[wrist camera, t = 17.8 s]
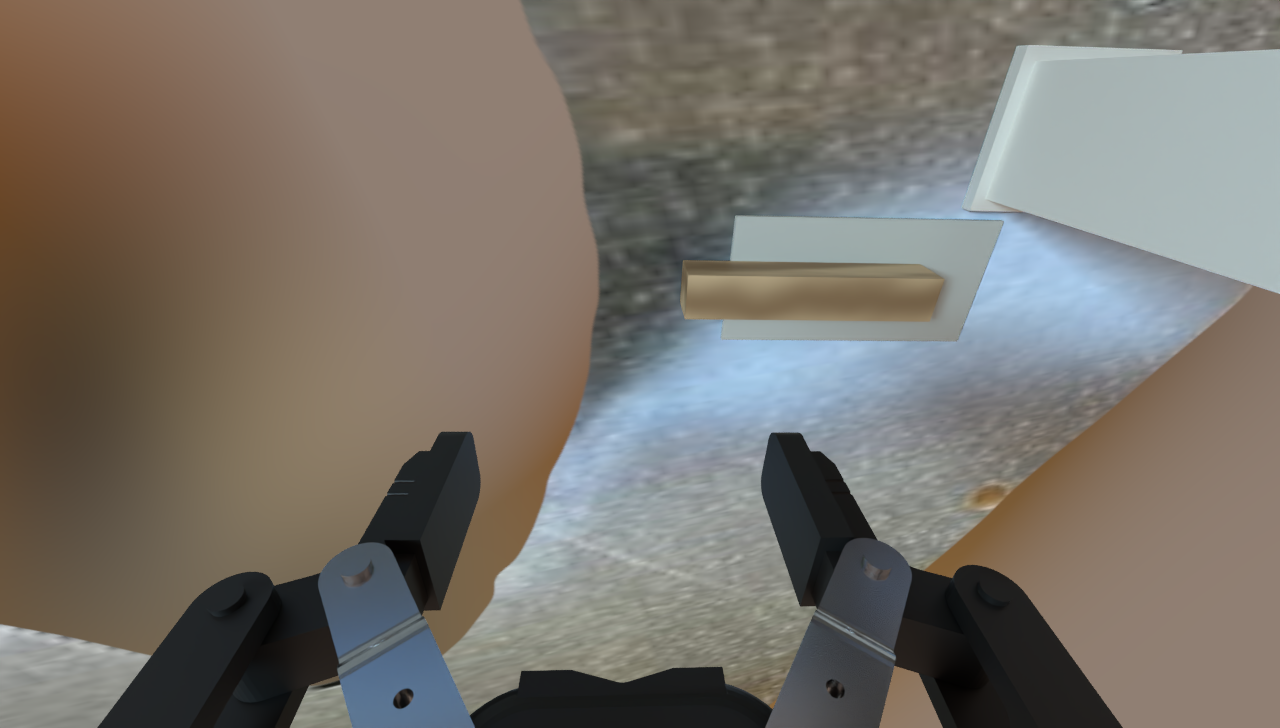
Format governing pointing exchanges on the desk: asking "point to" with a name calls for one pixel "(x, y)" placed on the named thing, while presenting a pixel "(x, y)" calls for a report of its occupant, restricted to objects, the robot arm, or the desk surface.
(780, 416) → the desk surface
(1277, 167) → the shelf post
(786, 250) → the rubber mat
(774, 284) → the oak bar
